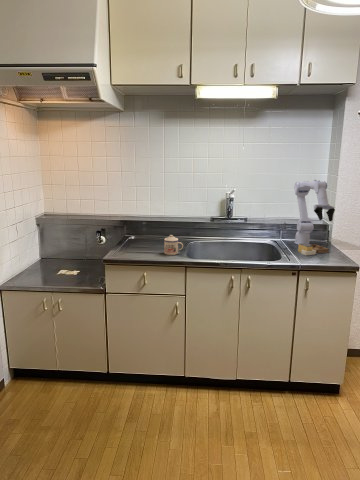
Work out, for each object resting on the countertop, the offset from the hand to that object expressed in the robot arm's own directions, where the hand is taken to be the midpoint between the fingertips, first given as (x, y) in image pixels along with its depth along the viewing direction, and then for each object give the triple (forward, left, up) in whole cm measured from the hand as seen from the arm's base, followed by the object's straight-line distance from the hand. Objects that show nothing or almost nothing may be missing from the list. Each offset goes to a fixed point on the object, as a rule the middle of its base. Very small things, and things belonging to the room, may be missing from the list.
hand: (326, 220), depth 222 cm
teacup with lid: (-34, -86, -23) cm, 96 cm away
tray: (-11, +5, -22) cm, 25 cm away
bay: (-6, -6, -22) cm, 24 cm away
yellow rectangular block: (-9, -6, -23) cm, 25 cm away
